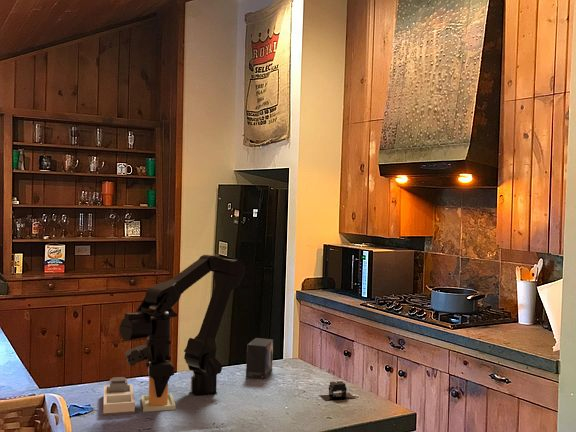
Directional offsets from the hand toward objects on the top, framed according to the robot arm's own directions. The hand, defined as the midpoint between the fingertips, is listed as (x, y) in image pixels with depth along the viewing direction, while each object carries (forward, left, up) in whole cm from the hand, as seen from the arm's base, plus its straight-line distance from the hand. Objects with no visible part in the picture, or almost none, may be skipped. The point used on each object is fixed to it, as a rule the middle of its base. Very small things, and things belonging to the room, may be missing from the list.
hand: (158, 394), depth 160 cm
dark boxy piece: (-49, +3, -4) cm, 50 cm away
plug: (0, 0, -2) cm, 2 cm away
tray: (0, 0, -3) cm, 3 cm away
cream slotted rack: (+10, -2, -3) cm, 11 cm away
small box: (-33, -24, -4) cm, 41 cm away
